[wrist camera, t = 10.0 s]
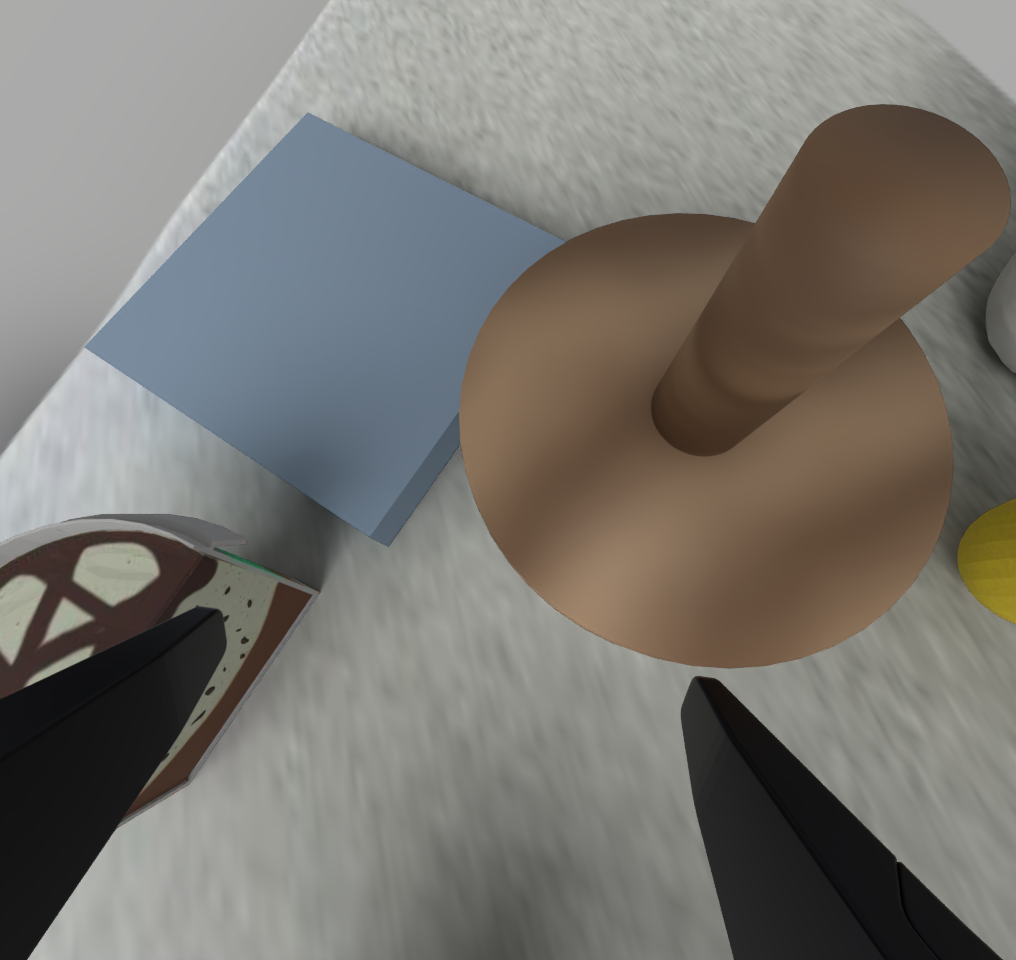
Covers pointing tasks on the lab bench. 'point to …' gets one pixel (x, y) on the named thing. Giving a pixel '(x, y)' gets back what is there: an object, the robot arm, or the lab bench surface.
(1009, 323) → the glass bottle
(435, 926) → the lab bench surface
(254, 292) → the mat
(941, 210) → the lid
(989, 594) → the lemon
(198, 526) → the food container
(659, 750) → the lab bench surface
